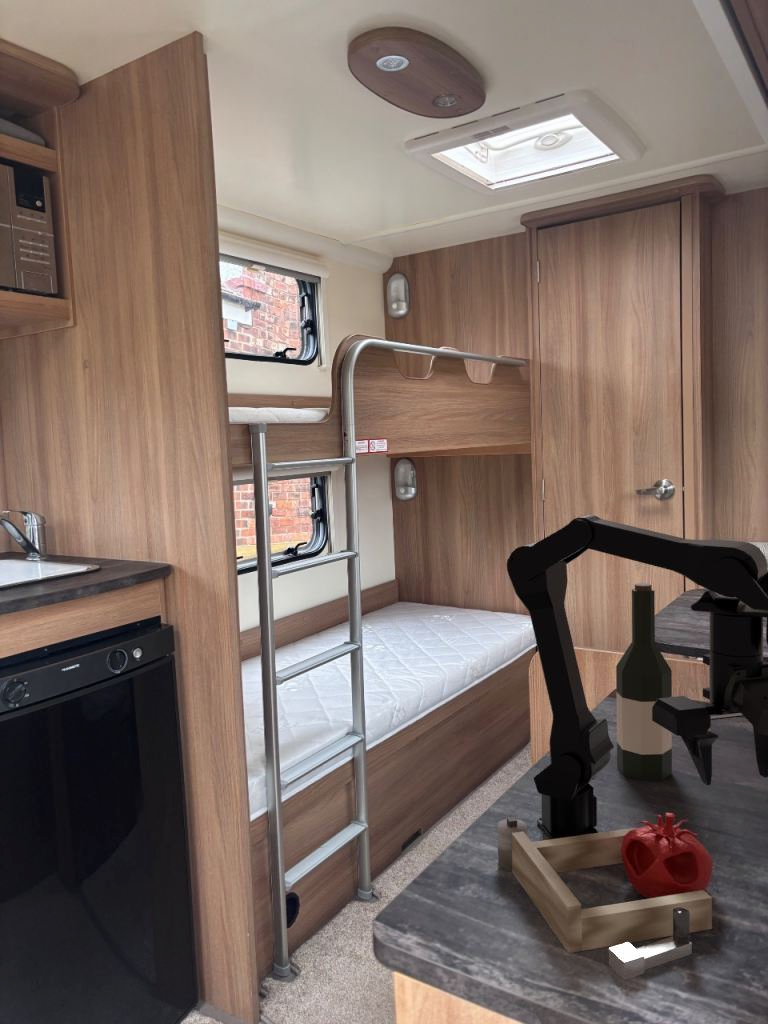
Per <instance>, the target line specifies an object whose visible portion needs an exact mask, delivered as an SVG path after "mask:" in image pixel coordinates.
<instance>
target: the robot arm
mask: <svg viewBox="0 0 768 1024" xmlns="http://www.w3.org/2000/svg"><path fill="white" fill-rule="evenodd" d="M588 550H591V551H596V552H600V553H604V554H607V555H612V556H615V557H619V558H622V559H627V560H630V561H634V562H638V563H642V564H646V565H650V566H653V567H657V568H661V569H664V570H665V569H666V570H668V571H673V572H675V573H677V574H680V575H681V576H684V578H686V579H688V580H690V582H691V581H692V582H693V583H694V584H696V585H697V586H700V587H703V588H705V589H706V590H705V591H704V592H703V594H702V595H701V597H700V598H699V599H698V600H697V601H695V602H694V603H692V604H691V605H690V610H692V611H694V612H703V613H704V612H705V613H709V653H707V654H702V664H704V665H707V666H709V686H708V687H703V688H702V697H703V698H705V699H707V700H709V703H708V702H706V703H705V702H704V703H698V702H696V701H694V700H692V699H690V698H688V697H687V696H685V695H679V696H672V697H667V698H658V699H657V700H656V702H655V703H654V704H653V707H652V721H654V722H655V723H657V724H659V725H660V726H662V727H664V728H665V729H667V730H669V731H670V732H672V735H673V734H674V735H675V736H678V737H680V738H681V739H682V741H683V743H684V745H685V746H686V749H687V750H688V753H689V755H690V757H691V759H692V762H693V764H694V767H695V768H696V771H697V773H698V775H699V778H700V780H701V781H702V783H703V784H705V785H706V786H710V785H711V783H712V776H713V744H714V743H715V742H716V740H718V738H719V735H718V734H716V733H714V732H713V731H711V727H712V725H711V724H712V722H711V721H715V720H725V719H734V718H742V717H743V718H745V719H746V720H747V721H748V722H749V723H750V724H751V726H752V730H753V737H754V738H753V739H754V741H753V742H754V747H755V749H754V750H755V758H756V764H757V768H758V773H759V775H760V776H761V777H763V778H765V779H766V778H768V662H767V661H765V660H764V618H766V627H765V628H766V630H765V638H766V639H765V640H766V645H767V646H768V562H767V558H766V556H765V554H764V553H763V551H762V550H761V548H760V547H759V546H757V545H756V544H754V543H750V542H749V541H748V542H747V541H739V540H726V539H725V540H724V539H691V538H690V539H689V538H688V539H687V538H684V537H679V536H675V535H671V534H667V533H663V532H658V531H654V530H650V529H645V528H641V527H637V526H633V525H629V524H624V523H620V522H617V521H611V520H607V519H602V518H600V517H599V516H597V515H594V514H588V515H583V516H578V517H576V518H573V519H572V520H570V522H569V523H567V524H566V525H564V526H563V527H562V528H560V529H558V530H557V531H555V532H553V533H551V534H550V535H548V536H546V537H545V538H543V539H541V540H539V541H537V542H533V543H529V544H525V545H524V544H523V545H521V546H518V547H516V548H515V549H514V550H513V551H511V553H510V555H509V557H508V558H507V560H506V572H507V574H508V577H509V578H508V579H509V580H510V582H511V584H512V588H513V590H514V592H515V594H516V597H517V598H518V599H519V600H520V601H521V603H522V604H523V606H524V607H525V609H526V610H527V611H528V614H529V616H530V621H531V625H532V629H533V632H534V633H533V634H534V638H535V642H536V647H537V652H538V655H539V659H540V665H541V669H542V673H543V677H544V683H545V686H546V692H547V696H548V700H549V704H550V709H551V714H552V721H551V727H550V728H551V730H550V735H549V740H548V741H549V757H550V758H549V759H550V764H549V765H547V766H546V767H545V768H544V769H542V771H540V772H539V773H538V774H537V775H535V776H534V777H533V781H534V784H535V786H536V787H535V788H536V791H537V793H538V794H540V795H541V796H540V797H541V798H540V800H541V801H540V802H541V817H537V818H536V822H537V824H538V825H539V826H540V827H541V828H542V830H543V831H544V832H545V833H546V834H547V836H548V837H549V838H550V839H557V838H564V837H572V836H579V835H586V834H593V833H600V832H599V830H597V829H596V827H598V798H597V797H596V796H595V794H594V788H595V787H593V785H592V784H591V781H593V780H595V779H596V777H597V776H598V775H599V774H600V773H601V772H602V771H603V770H604V769H605V768H606V767H607V765H608V763H609V762H610V760H611V751H612V750H613V749H614V748H615V745H614V744H613V742H612V741H611V739H610V735H609V726H608V721H607V718H601V719H597V718H596V717H595V716H594V715H593V714H592V712H591V710H590V709H589V707H588V705H587V700H586V696H585V695H586V694H585V691H584V690H585V689H584V686H583V682H582V681H583V680H582V678H581V673H580V668H579V664H578V661H577V656H576V651H575V647H574V642H573V638H572V633H571V630H570V625H569V620H568V616H567V612H566V607H565V601H566V593H567V587H568V569H567V565H568V564H569V563H571V562H572V561H574V560H576V559H577V558H579V557H580V556H581V555H583V554H584V553H586V552H587V551H588Z"/></svg>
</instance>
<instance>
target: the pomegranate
mask: <svg viewBox="0 0 768 1024" xmlns="http://www.w3.org/2000/svg"><path fill="white" fill-rule="evenodd" d="M653 816H654V817H655V818H657V823H655V824H653V823H652V822H649V821H647V820H643V821H638V822H635V824H636V825H638V824H645V825H643V826H641V827H637V828H636V829H633V830H631V831H629V832H628V833H627V834H626V835H625V836H624V837H623V841H622V847H621V853H622V862H623V863H622V866H623V868H624V872H625V873H626V876H627V878H628V881H629V882H630V885H631V886H632V888H633V889H634V890H635V891H636V892H637V893H639V895H641V896H643V897H644V898H645V899H650V898H656V897H663V896H669V895H675V894H681V893H688V892H694V891H700V890H704V891H705V892H706V891H707V889H708V887H709V884H710V883H711V880H712V874H713V869H714V868H713V867H714V864H713V858H712V856H711V854H710V852H709V851H708V850H707V848H706V847H705V846H704V845H703V844H702V842H700V841H699V840H698V839H697V838H696V837H697V836H698V835H699V834H698V833H694V832H692V830H689V829H682V828H680V826H681V825H682V824H683V823H686V822H688V821H689V820H690V819H689V818H687V819H683V820H682V819H681V821H679V822H677V823H676V824H674V825H673V823H674V821H675V820H676V814H674V813H673V812H665V816H664V817H665V822H664V820H663V817H662V815H661V814H656V815H655V814H653Z"/></svg>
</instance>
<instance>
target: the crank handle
mask: <svg viewBox="0 0 768 1024" xmlns="http://www.w3.org/2000/svg"><path fill="white" fill-rule="evenodd" d="M690 934H691V933H690V913H689V911H688V910H686V909H684V908H680V907H677V908H674V909H673V936H668V937H667V938H666V937H665V938H664V939H661V940H657V941H654V942H652V943H649V944H648V943H647V944H645V945H642V946H639V947H635V946H633V944H632V943H629V942H627V943H624V944H620V945H614V946H610V947H609V948H608V966H609V967H610V968H612V969H613V970H614V971H615V973H617V974H618V975H619V976H620V977H621V978H622V979H623V980H625V981H626V980H628V979H632V978H634V977H637V976H640V975H643V974H645V970H647V969H651V968H653V967H656V966H657V967H658V966H659V965H662V964H666V963H668V962H671V961H675V960H678V959H680V958H684V957H687V956H690V955H692V948H693V946H692V941H690V939H691V938H690V936H691V935H690Z"/></svg>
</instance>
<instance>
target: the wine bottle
mask: <svg viewBox="0 0 768 1024" xmlns="http://www.w3.org/2000/svg"><path fill="white" fill-rule="evenodd" d="M652 586H653V585H652V584H650V583H646V582H645V583H644V582H643V583H635V584H634V588H633V589H631V638H632V639H631V642H630V644H629V646H628V647H627V648H626V650H625V652H624V653H623V655H622V656H621V658H620V659H619V660H618V662H617V664H616V666H615V667H616V668H615V669H616V674H615V675H616V677H615V679H616V681H615V682H616V683H615V684H616V690H615V691H616V767H617V769H618V770H619V772H620V773H621V774H622V775H623V776H626V777H629V778H631V779H636V780H638V781H643V782H644V781H645V782H647V781H664V780H665V779H667V778H669V776H671V775H672V774H673V754H672V753H673V748H672V747H673V738H672V737H673V736H672V735H673V733H672V732H670V731H669V730H667V729H665V728H664V727H662V726H660V725H659V724H657V723H655V722H654V721H652V707H653V704H654V703H655V702H656V700H657V699H658V698H667V697H673V696H672V695H673V694H672V693H673V692H672V691H673V690H672V687H673V686H672V685H673V683H672V682H673V681H672V678H673V676H672V674H673V670H672V668H671V667H670V665H669V663H668V662H667V660H666V659H665V657H664V655H663V654H662V652H661V650H660V649H659V647H658V646H657V644H656V641H655V640H656V639H655V638H656V635H655V634H656V632H655V631H656V627H655V626H656V622H655V621H656V620H655V617H656V616H655V613H656V608H655V607H656V606H655V604H656V603H655V602H656V601H655V600H656V597H655V592H656V591H655V589H653V588H652Z"/></svg>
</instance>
